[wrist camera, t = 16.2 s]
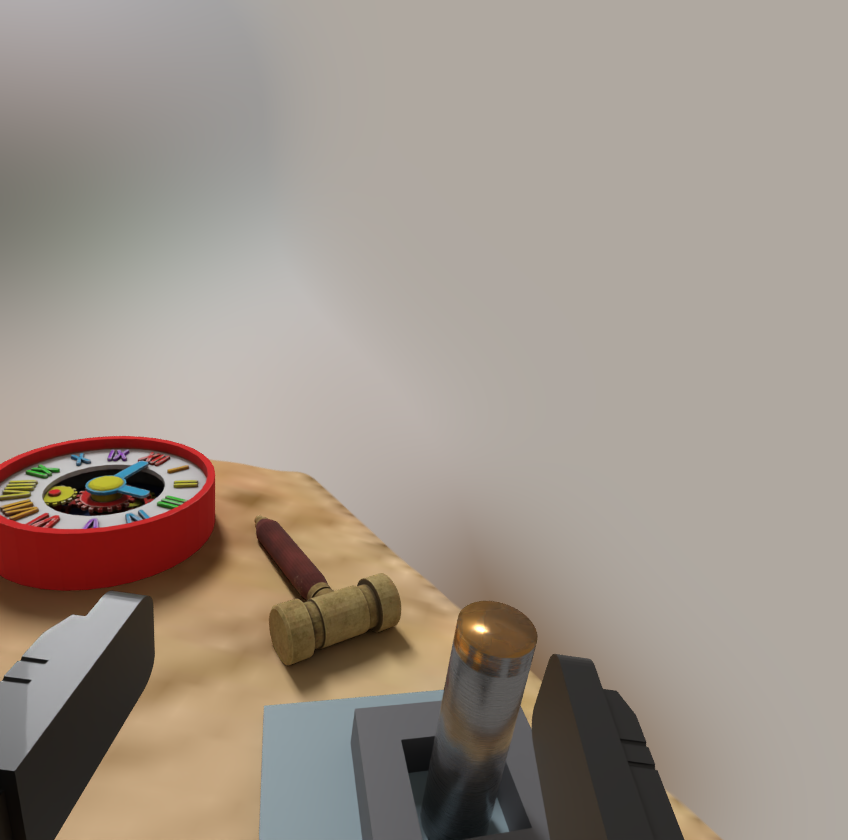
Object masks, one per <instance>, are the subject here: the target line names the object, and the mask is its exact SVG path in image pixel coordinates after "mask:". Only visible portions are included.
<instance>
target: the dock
mask: <svg viewBox="0 0 848 840" xmlns="http://www.w3.org/2000/svg"><path fill="white" fill-rule="evenodd" d="M443 692H444V690H437V691H426V692H414V693H403V694H392V695H381V696H369V697H358V698H347V699H336V700H325V701H313V702H302V703H291V704H280V705H269V706H264V720H263V747H262V774H261V800H260V827H259V840H428V838H427V837H426V835H425V833H424V831H423V828H422V825H421V819H420V813H421V807H422V801H423V796H424V791H425V786H426V781H427V775H428V770H429V765H430V760H431V755H432V749H433V744H434V739H435V734H436V729H437V723H438V718H439V713H440V708H441V703H442V698H443ZM463 840H550V837H549V831H548V825H547V820H546V814H545V809H544V803H543V797H542V792H541V786H540V781H539V775H538V770H537V764H536V758H535V753H534V747H533V741H532V730H531V727H530V725H529V723H528V721H527V719H526V717H525V714H524V712H523V710H522V708H521V706H520V709H519V713H518V716H517V720H516V724H515V728H514V732H513V736H512V740H511V743H510V747H509V751H508V755H507V759H506V763H505V767H504V770H503V774H502V778H501V782H500V786H499V790H498V794H497V798H496V801H495V805H494V809H493V813H492V817H491V821H490V825H489V828H488V832H487V836H481V837H475V838H469V839H463Z"/></svg>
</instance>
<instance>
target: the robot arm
mask: <svg viewBox="0 0 848 840" xmlns="http://www.w3.org/2000/svg"><path fill="white" fill-rule="evenodd" d="M154 657H155V647H154V614H153V600H152V598H151V597H150V596H145V595H138V594H131V593H124V592H117V591H109V592H107V593H106V594H104V596H103V597H102V598H101V599H100V600H99V601H98V602H97V604H96V605H95V606H94V607H93V608H92V610H91V611H90V612H89V613H88V614H87V615H86V616H79V615H71V616H69V617H68V618H66V619H65V620H63V621H61V622H60V623H58V624H57V625H55V626H53V627H52V628H50V629H49V630H47V631H45V632H44V633H43V634H42V635H41V636H40V637H39V638H38V639H37V640H36V641H35V642H34V644H33V645H32V646H31V647H30V648H29V649H28V650H27V651H26V652H25V653H24V655H23V656H22V658H21V660H20V661H17V662H16V663H15V664H14V666H13V667H12V668H11V669H10V670H9V671H8V672H7V673H6V674H5V675H4V678H3V680H2V681H0V840H54V839H55V838H56V836H57V834H58V833H59V831H60V829H61V828H62V826H63V824H64V823H65V821H66V819H67V817H68V816H69V814H70V812H71V811H72V809H73V807H74V806H75V804H76V802H77V801H78V799H79V797H80V796H81V794H82V792H83V791H84V789H85V787H86V786H87V784H88V782H89V781H90V779H91V777H92V776H93V774H94V772H95V771H96V769H97V767H98V766H99V764H100V762H101V761H102V759H103V757H104V756H105V754H106V752H107V751H108V749H109V747H110V746H111V744H112V742H113V741H114V739H115V737H116V736H117V734H118V732H119V731H120V729H121V727H122V726H123V724H124V722H125V721H126V719H127V717H128V716H129V714H130V712H131V711H132V709H133V707H134V706H135V704H136V702H137V701H138V699H139V697H140V696H141V694H142V692H143V691H144V689H145V687H146V685H147V683H148V680H149V678H150V675H151V672H152V668H153V664H154ZM532 741H533V747H534V753H535V758H536V764H537V770H538V775H539V781H540V786H541V792H542V797H543V803H544V809H545V814H546V820H547V825H548V831H549V837H550V840H684V838H683V835H682V832H681V830H680V827H679V825H678V822H677V820H676V817H675V814H674V812H673V809H672V807H671V804H670V802H669V799H668V796H667V794H666V791H665V789H664V786H663V784H662V781H661V778H660V776H659V774H658V771H657V770H655V763H654V760H653V758H652V755H651V753H650V751H649V748H648V747H646V740H645V737H644V735H643V732H642V730H641V727H640V725H639V722H638V719H637V717H636V715H635V714H634V712H633V711H632V710H631V708H630V707H629V706H628V705H627V703H626V702H625V701H624V700H623V698H622V697H621V696H620V694H619V693H618V692H617V691H613V690H606V689H603V688H602V686H601V683H600V680H599V677H598V674H597V671H596V668H595V665H594V663H593V662H592V660H590V659H587V658H580V657H572V656H565V655H558V654H553V655H552V656H551V657H550V659H549V662H548V665H547V668H546V671H545V675H544V678H543V681H542V684H541V687H540V690H539V693H538V696H537V700H536V703H535V706H534V710H533V716H532Z"/></svg>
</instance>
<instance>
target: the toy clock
mask: <svg viewBox="0 0 848 840" xmlns="http://www.w3.org/2000/svg"><path fill="white" fill-rule="evenodd" d="M214 524H215V471H214V467H213V465H212V463H211V462H210V460H209V459H208V458H206V457H205V456H204V455H203V454H202V453H200V452H198V451H197V450H195V449H193V448H190V447H188V446H185V445H182V444H179V443H175V442H172V441H168V440H162V439H156V438H147V437H133V436H110V437H95V438H85V439H78V440H71V441H66V442H61V443H57V444H52V445H48V446H45V447H41V448H38V449H34V450H31V451H29V452H26V453H23V454H21V455H18V456H16V457H14V458H12V459H9V460H7V461H5V462H3V463H2V464H0V576H2V577H4V578H5V579H7V580H10V581H13V582H15V583H18V584H21V585H24V586H29V587H34V588H39V589H48V590H62V591H67V590H90V589H98V588H106V587H112V586H117V585H121V584H126V583H130V582H134V581H137V580H141V579H144V578H147V577H150V576H153V575H156V574H158V573H160V572H163V571H165V570H167V569H169V568H172V567H174V566H175V565H177V564H179V563H180V562H182V561H184V560H186V559H187V558H189V557H190V556H191V555H193V554H194V553H195V552H196V551H198V550H199V549H200V548H201V547H202V546H203V545H204V543H205V542H206V541H207V540H208V539H209V537H210V535H211V533H212V531H213V528H214Z"/></svg>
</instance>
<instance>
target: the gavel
mask: <svg viewBox="0 0 848 840" xmlns="http://www.w3.org/2000/svg"><path fill="white" fill-rule="evenodd" d="M255 523H256V524H255V527H256V534H257V538H258V540H259V541H260V542H261V544H262V545H263V546H264V548H265V549H266V550H267V552H268V553H269V554H270V555H271V557H272V558H273V559H274V561H275V562H276V563H277V565H278V566H279V567H280V569H281V570H282V571H283V573H284V574H285V575H286V577H287V578H288V579H289V581H290V582H291V583H292V584H293V586H294V587H295V588H296V590H297V591H298V592H299V594H300V595H301V596H302V597H303V598H304V599H306V600H307V602H305V603H303V602H302V601H301V600H299V599H294V600H290V601H287V602H284V603H280V604H277V605H274V606H273V607H272V609H271V612H270V616H269V627H270V635H271V639H272V643H273V646H274V649H275V650H276V652H277V654H278V656H279V658H280V659H281V661H282V662H283V663H284V664H285V665H291V664H294V663H296V662H299V661H302V660H304V659H307V658H310V657H311V656H312V655H313V653H314V649H316V648H319V649H322V648H325V647H327V646H330V645H333V644H336V643H338V642H341V641H344V640H347V639H349V638H352V637H355V636H357V635H360V634H363V633H365V632H367V630H368V629H372V630H373V631H374V632H375V633H376V632H379V631H382V630H385V629H388V628H390V627H393V626H395V625H397V624H398V622H399V620H400V616H401V601H400V597H399V593H398V591H397V588H396V586H395V584H394V583H393V581H392V580H391V579H390V578H389V577H388V576H387V575H385V574H383V573H380V574H377V575H373V576H370V577H367V578H363V579H361V580H360V581H359V582H358V585H357V586H350V587H347V588H343V589H340V590H337V591H333V590H332V589H331V588H330V586H329V585H328V583H327V581H326V579H325V577H324V576H323V575H322V573H321V572H320V571H319V570H318V569H317V568H316V566H315V565H314V564H313V563H312V562H311V561H310V559H309V558H308V557H307V556H306V555H305V554H304V552H303V551H302V550H301V549H300V548H299V547H298V545H297V544H296V543H295V542H294V541H293V540H292V539H291V537H290V536H289V535H288V534H287V533H286V532H285V530H284V529H283V528H282V527H281V526H280V525H279V523H278V522H276V521H274V520H270V519H268V518H266V517H263V516H260V515H259V516H256V517H255Z"/></svg>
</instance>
